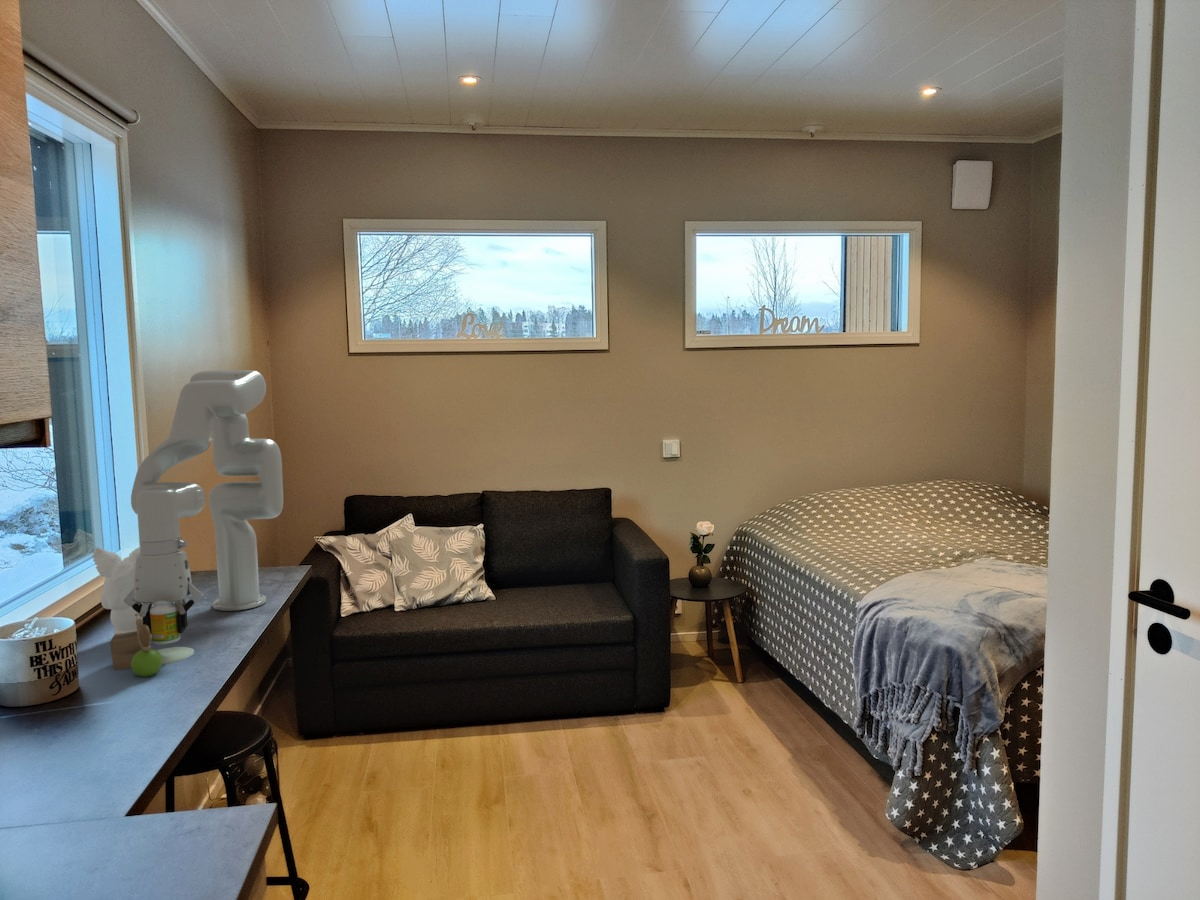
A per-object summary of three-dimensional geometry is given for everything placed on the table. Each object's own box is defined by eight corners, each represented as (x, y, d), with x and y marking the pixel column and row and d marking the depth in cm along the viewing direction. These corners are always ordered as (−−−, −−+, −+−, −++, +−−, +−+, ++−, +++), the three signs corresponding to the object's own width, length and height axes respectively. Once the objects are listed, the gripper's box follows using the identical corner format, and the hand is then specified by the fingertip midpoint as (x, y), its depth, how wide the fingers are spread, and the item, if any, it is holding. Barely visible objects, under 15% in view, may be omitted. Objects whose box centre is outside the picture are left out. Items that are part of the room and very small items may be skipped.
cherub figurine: (157, 630, 193) (151, 536, 191) (166, 644, 183) (159, 545, 181) (96, 640, 186) (89, 544, 184) (102, 656, 176) (94, 553, 174)
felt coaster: (150, 650, 179) (149, 648, 179) (199, 647, 180) (199, 645, 180) (133, 667, 169) (133, 665, 169) (186, 663, 171) (186, 661, 171)
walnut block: (118, 662, 171) (114, 634, 170) (145, 658, 173) (142, 630, 172) (113, 670, 166) (110, 641, 166) (141, 666, 168) (138, 637, 167)
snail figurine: (156, 667, 168) (152, 609, 167) (167, 675, 164) (162, 616, 163) (126, 674, 165) (122, 615, 163) (136, 683, 160) (132, 622, 159)
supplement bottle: (168, 645, 171) (165, 599, 170) (145, 644, 172) (142, 598, 171) (186, 637, 176) (183, 592, 175) (164, 636, 177) (161, 591, 176)
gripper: (209, 541, 178) (214, 624, 179) (122, 546, 174) (127, 630, 176) (199, 548, 170) (204, 635, 172) (108, 553, 167) (114, 641, 169)
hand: (165, 631), depth 174 cm, fingers closed on supplement bottle, 5 cm apart
